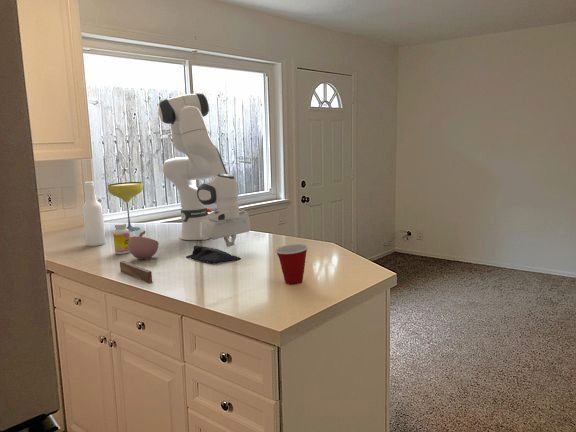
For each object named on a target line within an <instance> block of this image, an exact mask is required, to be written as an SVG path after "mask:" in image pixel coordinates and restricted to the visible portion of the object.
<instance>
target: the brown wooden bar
mask: <svg viewBox="0 0 576 432" xmlns="http://www.w3.org/2000/svg"><path fill="white" fill-rule="evenodd" d="M119 269H120V270H119V271H120V273H121V274H125V275H127V276H129V277H132V278H134V279H137V280H139V281H141V282H144V283H147V284H151V283H153V273H152V271H151V270H149V269H146V268H143V267H141V266H138V265H135V264H133V263H131V262H127V261H125V260H121V261H119Z"/></svg>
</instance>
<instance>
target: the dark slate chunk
mask: <svg viewBox="0 0 576 432" xmlns="http://www.w3.org/2000/svg"><path fill="white" fill-rule="evenodd" d="M185 258H186V259H191V260H193V261H197V262H202V263H206V264H209V265H210V264H211V265H218V264H223V263H229V262H237V261H239V260H242V258H241V257H240V256H236V255H232V254H230V253H229V252H227V251H224V250H222V249H218V248H213V247H208V246H203V245H197V244H196V245H193V250H192V252H191V254H189V255H186V257H185Z"/></svg>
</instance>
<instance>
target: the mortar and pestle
mask: <svg viewBox="0 0 576 432" xmlns="http://www.w3.org/2000/svg"><path fill="white" fill-rule="evenodd" d="M146 233H147V231H146V230H143V231H141V232H140V233H139V235H138V236H137V235H133V236H130V238H129V242H128V248H129V251H130V252H129V253H130V254H131V255H132V256H133V257H134V258H135V259H139V260H147V259H150V258H152V257H153V256H154V255H155V254H156V253H157V252H158V249H159V244H160V243H159V241H158V240H156V239H153V238H149V237H146V236H143V235H144V234H146Z"/></svg>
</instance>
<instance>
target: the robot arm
mask: <svg viewBox="0 0 576 432" xmlns="http://www.w3.org/2000/svg"><path fill="white" fill-rule="evenodd" d="M209 112H210V103H209V100H208V98H207V96H206V95H205V94H204V93H201V92H195V93H189V94H181V95H178V96H174V97H171V98H164V99H161V100H159V102H158V104H157V113H158V117H159V119H160V120H161V122H162V123H164V124H168V125H170V132H171V137H172V141H173V146H174V149H176V150H177V151H178V152H180V153H182V154H184V155H185V157H181V156H180V157H173V158H169V159H167V160H165V161H164V162H163V166H162V172H163V175H164V177H165V178H166V179H167V180H168V181H170V182H171V183H172V184H173V185H174V187H176V189H177V191H178V194H179V198H180V199H179V200H180V207H181V209H180V217H181V218H180V219H181V235H180V239H181V240H184V241H197V240H198V241H199V240H201V241H204V240H205V241H206V240H218V239H223V240H224V242H225V243H226V247H227V248H229V247H234V246H235V242H236V238H237V235H240V234H245V233H249V232H250V231H251V229H252V228H251V227H252V226H251V220H250V218H249V215H250V214H249V212H248V211H247V210H246V209H245V210H240V207H239V206H240V205H239V202H238V197H239V191H238V184H237V183H238V182H237V179H236V177H235V175H233V174H230V173H228V172H227V168H226V166H225V164H224V161H223V158H222V156H221V153H220V152H219V149H218V148H217V145H215V143H214V142H213V140H212V139H211V136H210V134H209V131H208V127H207V125H206V121H205V118H204V117H206V116H208V115H209ZM211 178H212V179H211ZM207 179H210V180H208V181H205V180H207ZM201 180H204V181H205V182H203V183H201V184H199V185H198V186H197V187H196V186H194V185H193V184H192V182H191V181H201ZM212 205H216V207H217V208H216V209H215V210H213V209H212V208H210V207H208V208H207V207H205V206H212ZM230 237H231V239H230Z"/></svg>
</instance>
